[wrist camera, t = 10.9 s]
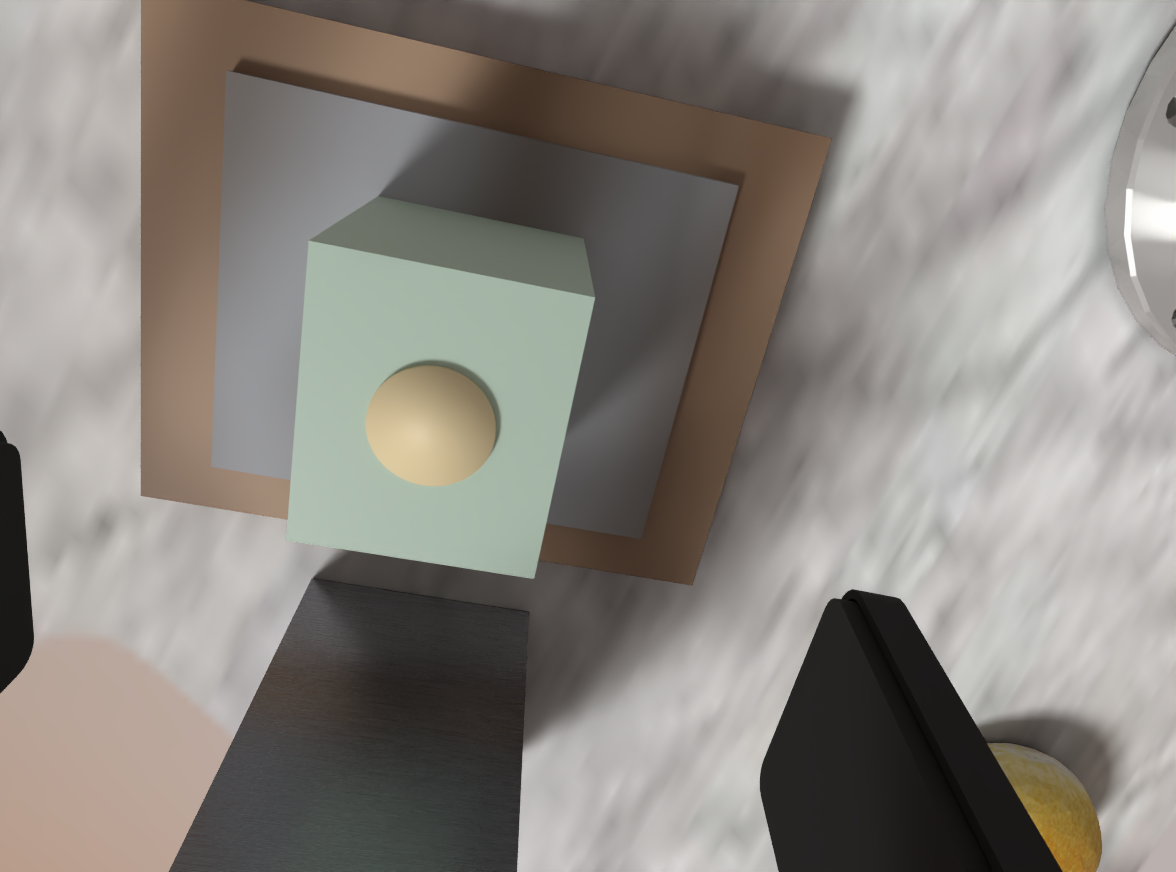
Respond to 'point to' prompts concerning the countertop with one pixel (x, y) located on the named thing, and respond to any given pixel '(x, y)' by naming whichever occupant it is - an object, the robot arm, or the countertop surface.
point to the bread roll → (1054, 805)
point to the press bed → (470, 186)
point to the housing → (435, 385)
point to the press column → (375, 743)
